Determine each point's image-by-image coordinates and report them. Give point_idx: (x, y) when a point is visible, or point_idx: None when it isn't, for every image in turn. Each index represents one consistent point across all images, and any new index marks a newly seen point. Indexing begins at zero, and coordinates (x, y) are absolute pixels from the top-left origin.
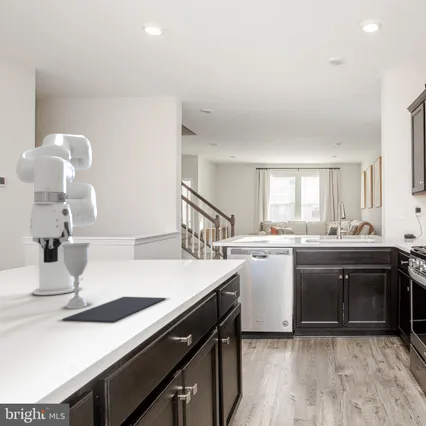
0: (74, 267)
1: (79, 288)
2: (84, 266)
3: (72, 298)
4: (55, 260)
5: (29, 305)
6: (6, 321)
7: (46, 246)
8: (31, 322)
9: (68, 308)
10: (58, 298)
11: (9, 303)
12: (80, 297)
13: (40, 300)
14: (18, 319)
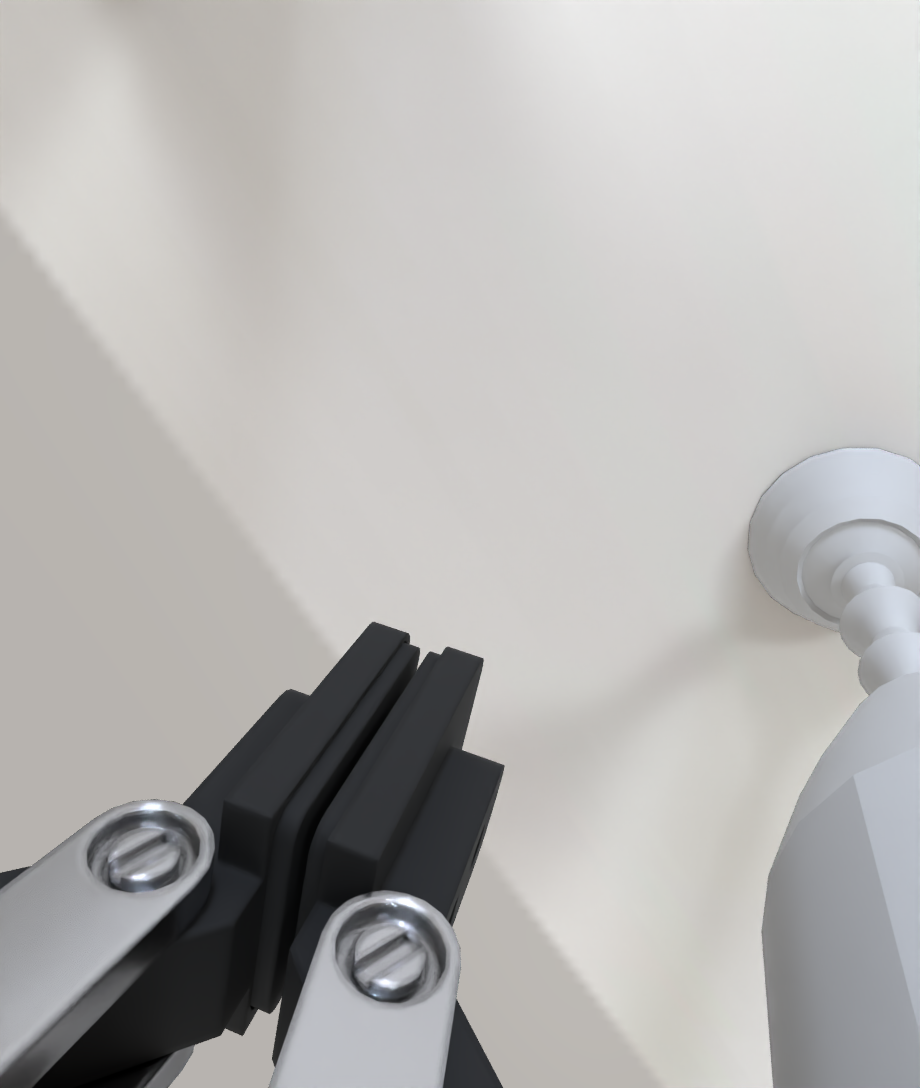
0: None
1: (918, 610)
2: None
3: (821, 592)
4: (467, 714)
5: (339, 419)
6: (501, 864)
7: (188, 1035)
8: (693, 935)
9: (796, 614)
10: (433, 99)
11: (105, 309)
12: (908, 573)
13: (297, 198)
14: (551, 840)
